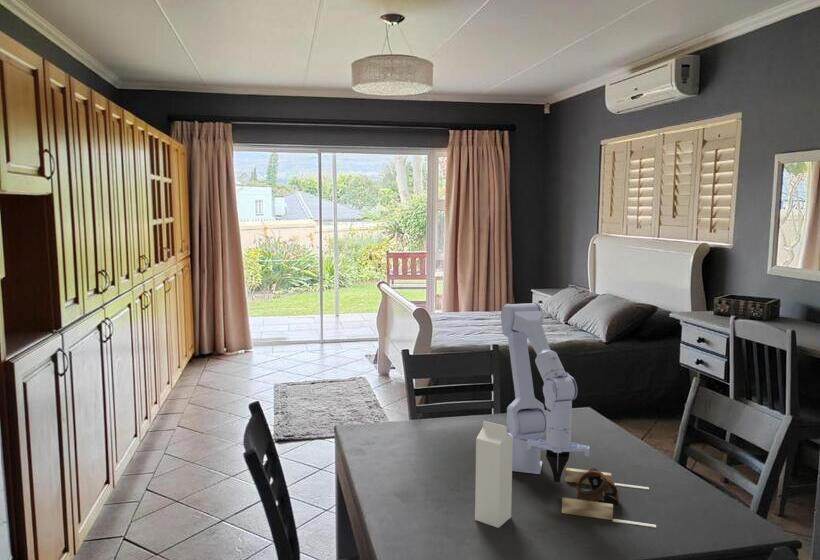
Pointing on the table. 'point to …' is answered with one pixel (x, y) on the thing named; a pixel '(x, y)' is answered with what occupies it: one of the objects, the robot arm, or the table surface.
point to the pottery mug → (596, 486)
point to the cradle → (582, 505)
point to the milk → (493, 474)
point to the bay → (632, 521)
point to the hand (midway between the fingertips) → (557, 480)
